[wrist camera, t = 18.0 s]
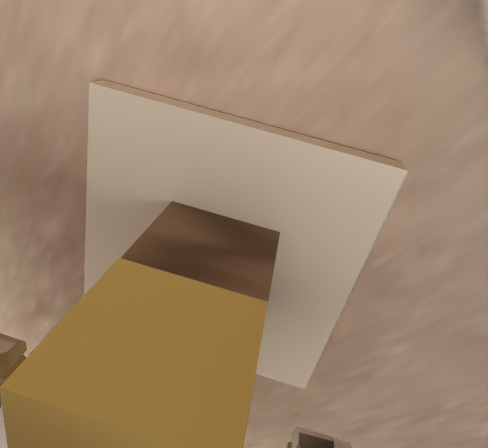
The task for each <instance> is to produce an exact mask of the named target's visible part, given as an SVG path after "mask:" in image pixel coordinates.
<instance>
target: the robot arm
mask: <svg viewBox="0 0 488 448" xmlns="http://www.w3.org/2000/svg"><path fill="white" fill-rule="evenodd" d="M26 350H27V347H26V342H25V341H22V340H19V339H16V338H13V337H10V336H7V335H4V334H1V333H0V386H1V385H2V384H3V383H4V382H5V381H6V380H7V379H8V377H9V376H10V375H11V374H12V373H13V372H14V371H15V370H16V369H17V368H18V367H19V365H20V364H21V363H22V362H23V361H24V360H25V359H26V357H25V356H24V355H23V353H24V352H25V351H26ZM1 403H2V402H1V395H0V407H1ZM286 448H352V447H351V445H350V443H348V442H345V441H341V440H338V439H334V438H331V437H330V436H327V435H323V434H320V433H317V432H313V431H310V430H307V429H303V428H300V427H297V428H295V430H294V432H293V434H292V442H289V443H288V444H287V446H286Z"/></svg>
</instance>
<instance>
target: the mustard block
mask: <svg viewBox="0 0 488 448" xmlns="http://www.w3.org/2000/svg"><path fill="white" fill-rule="evenodd" d="M267 305H268V302H267V301H264V300H260V299H257V298H253V297H250V296H247V295H243V294H240V293H237V292H233V291H230V290H226V289H223V288H220V287H216V286H213V285H210V284H206V283H203V282H199V281H196V280H193V279H189V278H186V277H183V276H179V275H176V274H172V273H169V272H166V271H162V270H159V269H156V268H152V267H149V266H145V265H142V264H139V263H135V262H132V261H128V260H125V259H122V258H118V259H117V260H116V261H115V262H114V263H113V264H112V265H111V267H110V268H109V269H108V270H107V271H106V272H105V273H104V274H103V275H102V276H101V277H100V278H99V280H98V281H97V282H96V283H95V284H94V285H93V286H92V287H91V288H90V289H89V290H88V292H87V293H86V294H85V295H84V296H83V297H82V298H81V299H80V300H79V301H78V302H77V303H76V305H75V306H74V307H73V308H72V309H71V310H70V311H69V312H68V313H67V314H66V315H65V317H64V318H63V319H62V320H61V321H60V322H59V323H58V324H57V325H56V326H55V327H54V329H53V330H52V331H51V332H50V333H49V334H48V335H47V336H46V337H45V338H44V339H43V340H42V342H41V343H40V344H39V345H38V346H37V347H36V348H35V349H34V350H33V351H32V352H31V354H30V355H29V356H28V357H27V358H26V359H25V360H24V361H23V362H22V363H21V364H20V365H19V367H18V368H17V369H16V370H15V371H14V372H13V373H12V374H11V375H10V376H9V377H8V379H7V380H6V381H5V382H4V383H3V384H2V385H1V386H0V395H1V402H2V409H3V416H4V423H5V429H6V437H7V445H8V448H243V445H244V439H245V433H246V428H247V422H248V416H249V410H250V404H251V398H252V392H253V387H254V381H255V375H256V369H257V363H258V357H259V352H260V346H261V340H262V334H263V328H264V322H265V316H266V311H267Z"/></svg>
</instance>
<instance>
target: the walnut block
mask: <svg viewBox="0 0 488 448" xmlns="http://www.w3.org/2000/svg"><path fill="white" fill-rule="evenodd" d="M279 236H280V232H278V231H274V230H271V229H268V228H264V227H261V226H257V225H254V224H250V223H247V222H243V221H240V220H236V219H233V218H229V217H226V216H222V215H219V214H216V213H212V212H209V211H205V210H202V209H198V208H195V207H191V206H188V205H184V204H181V203H177V202H174V201H172V202H171V203H170V204H169V205H168V206H167V207H166V208H165V209H164V211H163V212H162V213H161V214H160V215H159V216H158V217H157V218H156V219H155V220H154V222H153V223H152V224H151V225H150V226H149V227H148V228H147V229H146V230H145V231H144V233H143V234H142V235H141V236H140V237H139V238H138V239H137V240H136V241H135V242H134V244H133V245H132V246H131V247H130V248H129V249H128V250H127V251H126V252H125V253H124V255H123V256H122V257H121V258H122V259H125V260H128V261H132V262H135V263H139V264H142V265H145V266H149V267H152V268H156V269H159V270H162V271H166V272H169V273H172V274H176V275H179V276H183V277H186V278H189V279H193V280H196V281H199V282H203V283H206V284H210V285H213V286H216V287H220V288H223V289H226V290H230V291H233V292H237V293H240V294H243V295H247V296H250V297H253V298H257V299H260V300H264V301H267V302H268V301H269V295H270V289H271V283H272V277H273V271H274V265H275V260H276V254H277V248H278V242H279Z"/></svg>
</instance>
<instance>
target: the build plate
mask: <svg viewBox="0 0 488 448" xmlns="http://www.w3.org/2000/svg"><path fill="white" fill-rule="evenodd" d="M407 173H408V170H407V168H406V167H405V166H404V165H403V163H402V162H400V161H396V160H393V159H389V158H385V157H382V156H378V155H375V154H371V153H367V152H364V151H360V150H356V149H353V148H349V147H345V146H342V145H338V144H335V143H331V142H327V141H324V140H320V139H316V138H313V137H309V136H306V135H302V134H298V133H295V132H291V131H287V130H284V129H280V128H276V127H273V126H269V125H266V124H262V123H258V122H255V121H251V120H247V119H244V118H240V117H237V116H233V115H229V114H226V113H222V112H218V111H215V110H211V109H208V108H204V107H200V106H197V105H193V104H189V103H186V102H182V101H178V100H175V99H171V98H168V97H164V96H160V95H157V94H153V93H149V92H146V91H142V90H139V89H135V88H131V87H128V86H124V85H120V84H117V83H113V82H110V81H106V80H102V81H96V82H89V109H88V148H87V186H86V225H85V264H84V295H85V294H86V293H87V292H88V290H89V289H90V288H91V287H92V286H93V285H94V284H95V283H96V282H97V281H98V280H99V278H100V277H101V276H102V275H103V274H104V273H105V272H106V271H107V270H108V269H109V268H110V267H111V265H112V264H113V263H114V262H115V261H116V260H117V259H118V258H121V257H122V256H123V255H124V253H125V252H126V251H127V250H128V249H129V248H130V247H131V246H132V245H133V244H134V242H135V241H136V240H137V239H138V238H139V237H140V236H141V235H142V234H143V233H144V231H145V230H146V229H147V228H148V227H149V226H150V225H151V224H152V223H153V222H154V220H155V219H156V218H157V217H158V216H159V215H160V214H161V213H162V212H163V211H164V209H165V208H166V207H167V206H168V205H169V204H170V203H171V202H172V201H174V202H177V203H181V204H184V205H188V206H191V207H195V208H198V209H202V210H205V211H209V212H212V213H216V214H219V215H222V216H226V217H229V218H233V219H236V220H240V221H243V222H247V223H250V224H254V225H257V226H261V227H264V228H268V229H271V230H274V231H278V232H280V236H279V242H278V248H277V254H276V260H275V265H274V271H273V277H272V283H271V289H270V295H269V301H268V305H267V311H266V316H265V322H264V328H263V334H262V340H261V346H260V352H259V357H258V363H257V369H256V374H257V375H260V376H263V377H267V378H270V379H273V380H276V381H280V382H283V383H286V384H289V385H293V386H296V387H299V388H302V389H305V388H306V386H307V384H308V382H309V380H310V378H311V375H312V373H313V371H314V369H315V367H316V365H317V363H318V361H319V359H320V356H321V354H322V352H323V350H324V348H325V346H326V344H327V342H328V340H329V337H330V335H331V333H332V331H333V329H334V327H335V325H336V323H337V321H338V318H339V316H340V314H341V312H342V310H343V308H344V306H345V304H346V302H347V299H348V297H349V295H350V293H351V291H352V289H353V287H354V285H355V283H356V280H357V278H358V276H359V274H360V272H361V270H362V268H363V266H364V263H365V261H366V259H367V257H368V255H369V253H370V251H371V249H372V247H373V244H374V242H375V240H376V238H377V236H378V234H379V232H380V230H381V228H382V225H383V223H384V221H385V219H386V217H387V215H388V213H389V211H390V209H391V206H392V204H393V202H394V200H395V198H396V196H397V194H398V192H399V190H400V187H401V185H402V183H403V181H404V179H405V177H406V175H407Z"/></svg>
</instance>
